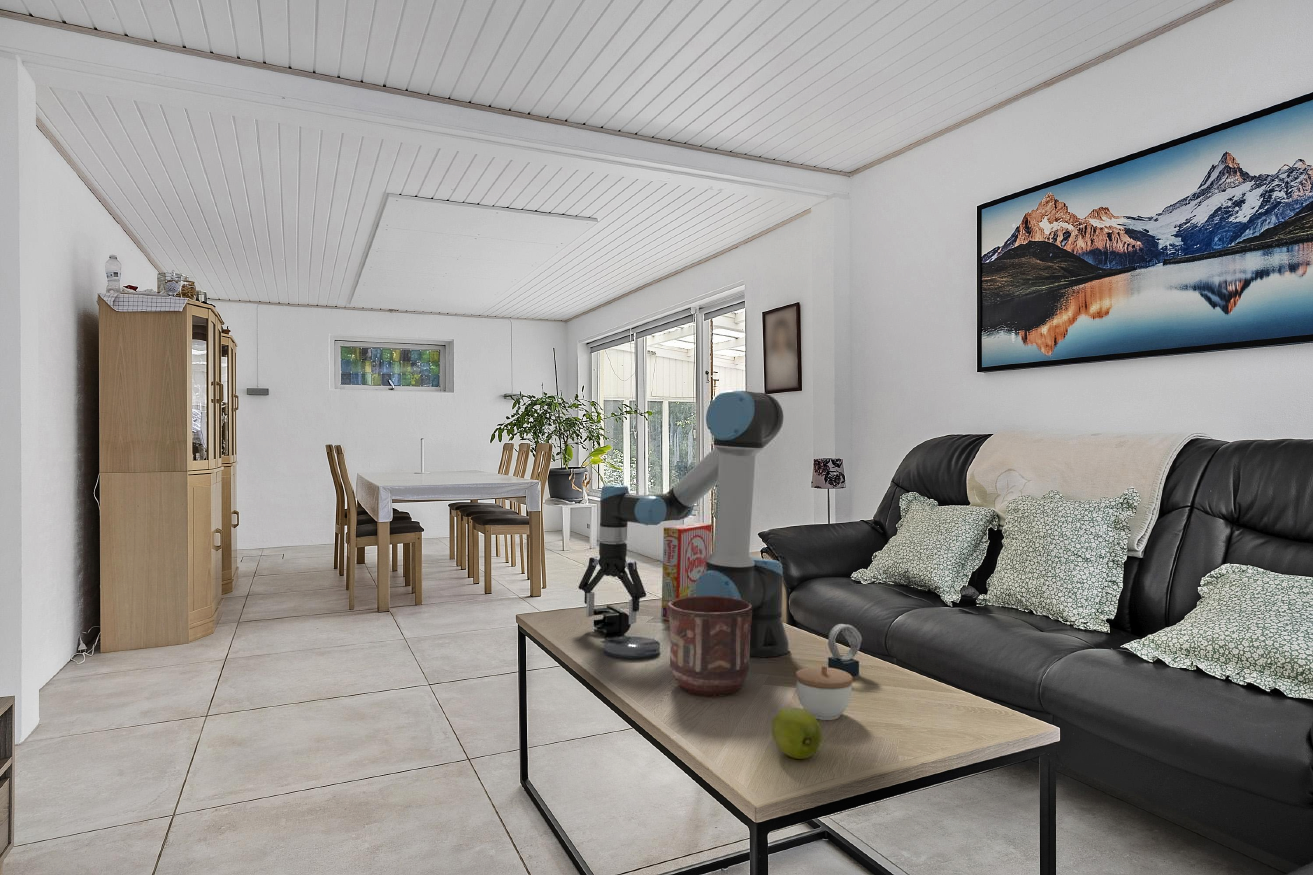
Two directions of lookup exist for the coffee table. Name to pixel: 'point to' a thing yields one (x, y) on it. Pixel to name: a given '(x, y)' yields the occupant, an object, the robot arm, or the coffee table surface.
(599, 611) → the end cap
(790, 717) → the green lime
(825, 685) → the lidded jar
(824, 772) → the coffee table surface
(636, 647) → the plate
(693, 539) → the popcorn box
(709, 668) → the pottery
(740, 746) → the coffee table surface
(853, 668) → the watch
